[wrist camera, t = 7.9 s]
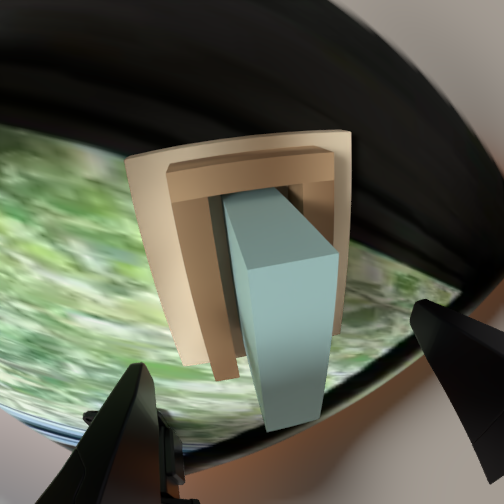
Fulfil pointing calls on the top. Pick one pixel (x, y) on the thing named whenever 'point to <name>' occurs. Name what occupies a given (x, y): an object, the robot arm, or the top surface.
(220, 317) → the track board
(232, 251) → the slider block
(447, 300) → the top surface
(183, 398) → the top surface
